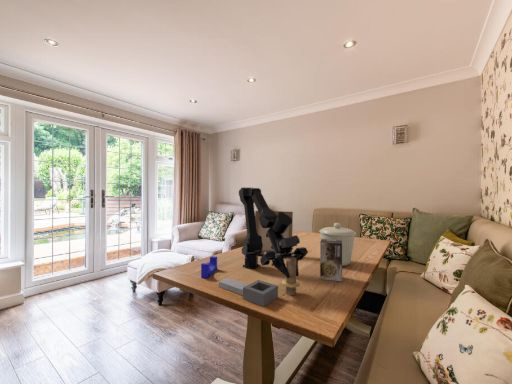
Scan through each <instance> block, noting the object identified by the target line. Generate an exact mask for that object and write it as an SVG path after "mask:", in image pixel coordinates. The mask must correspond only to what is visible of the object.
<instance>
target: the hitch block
mask: <svg viewBox="0 0 512 384" xmlns="http://www.w3.org/2000/svg"><path fill="white" fill-rule="evenodd" d="M218 288H221V289H224V290H227V291H230V292H232V293H235V294H238V295H240V296H242V299H243V300H246V301H248V302H249V303H252V304H255V305H258V306H261V307H265V306H267V305H268V304H270V303H271V302H273V301H274V300H276V299H277V298H278V297H279V286H278V285H276V284H274V283H270V282H266V281H263V280H260V279H257V280H255V281H252V282H251V283H249V284H247V283H245V282H242V281H239V280H236V279H232V278H230V277H226V278H224V279H222V280H218Z"/></svg>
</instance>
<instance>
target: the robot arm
mask: <svg viewBox="0 0 512 384" xmlns="http://www.w3.org/2000/svg"><path fill="white" fill-rule="evenodd" d="M238 196H239V200H240V202H241V204H242V205H243V207H244V217H245V226H246V236H245V237H244V244H243V246H242V248H241V254H242V255H244V264H242V267H244V268H247V269H251V270H255V269H256V268H258V267H261V266H263V267H264V266H269V265H270V263H271V266H272V267H274V268H275V269H276V270H278V271H279V272H280V273H281V274H282V275H284V276H285V278H286V277H287V278H289V277H290V276H289V273H288V270H287V268H286V262H285V259H286V258H287V257H295V258H296V277H299V276H300V275H299V261H301V260H303V259H304V258H305V257H306V256H307V255H308V253H309V251H308V249H307V247H304V246H300V247H297V246H298V244H300V243H301V241H300V238H299V236H298V235H297V234H296V235H292V237H291V238H284V236H283V233H285V232H286V231H287V229H288V228H289V226H290V225H291V223H292V219H291V217H289V216H288V215H286V214H284V212H285V211H283V212H279V213H278V215H276V213H275V212H274V211H275V210H272V209H271V208H270V207H269V205H268V203H267V201H266V199H265V197H264V195H263V193H262V190H261V188H259V187H241V188H240V189H239V190H238ZM255 207H256V211H258V212H259V214H260V217H259V221H260V225H261V226H262V228H269V230H268V231H267V233H266V237H269V239H270V241H271V244H272V246H271V249H274V251H275V252H274V251H268V252H265V253H264V254H261V253H262V248H263V243H262V237H261V236H259V235H258V233H257V228H256V220H255ZM294 247H296V248H295V249H294ZM293 249H294V251H293ZM291 250H292V252H291ZM259 255H261V257H260V260H259ZM259 261H260V264H259Z"/></svg>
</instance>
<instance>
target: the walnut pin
mask: <svg viewBox="0 0 512 384" xmlns="http://www.w3.org/2000/svg"><path fill="white" fill-rule="evenodd" d="M285 259H286V260H285V261H286V262H285V266H286V268H287V270H288V273H289V276H290V277H289V278H287V277H286V276H285V278H284V279H282V282H281V283H282V285H283V286H284V287H285V295H288V296H295V295H297V288H299V287H300V285H301V281H300V280H298V279H297V276H296V258H295V257H287V258H285Z"/></svg>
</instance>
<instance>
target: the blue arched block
mask: <svg viewBox="0 0 512 384" xmlns="http://www.w3.org/2000/svg"><path fill="white" fill-rule="evenodd" d="M200 267H201V268H200V277H201V279H209V278H210V277H211V276H212V275H213V274H214V273H215V272H216V271H217V270H218V256H213V255H211V256H210V257H209V261H208V262H206V263H205V262H202V263H201V265H200Z"/></svg>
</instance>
